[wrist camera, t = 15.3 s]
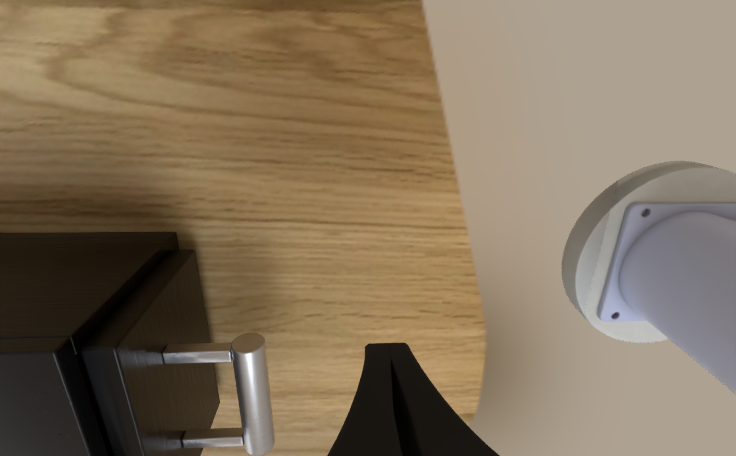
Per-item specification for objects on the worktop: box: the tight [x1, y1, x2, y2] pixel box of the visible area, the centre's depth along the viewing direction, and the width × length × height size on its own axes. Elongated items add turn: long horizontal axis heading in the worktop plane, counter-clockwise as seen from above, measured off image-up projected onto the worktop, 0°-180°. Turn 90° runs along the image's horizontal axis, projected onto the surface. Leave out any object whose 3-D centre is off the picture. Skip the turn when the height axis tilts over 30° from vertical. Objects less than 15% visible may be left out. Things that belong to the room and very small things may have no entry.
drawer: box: [80, 249, 275, 456], centre depth 18 cm, size 17×10×8 cm, turn 89°
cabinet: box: [0, 232, 179, 456], centre depth 18 cm, size 14×12×10 cm
